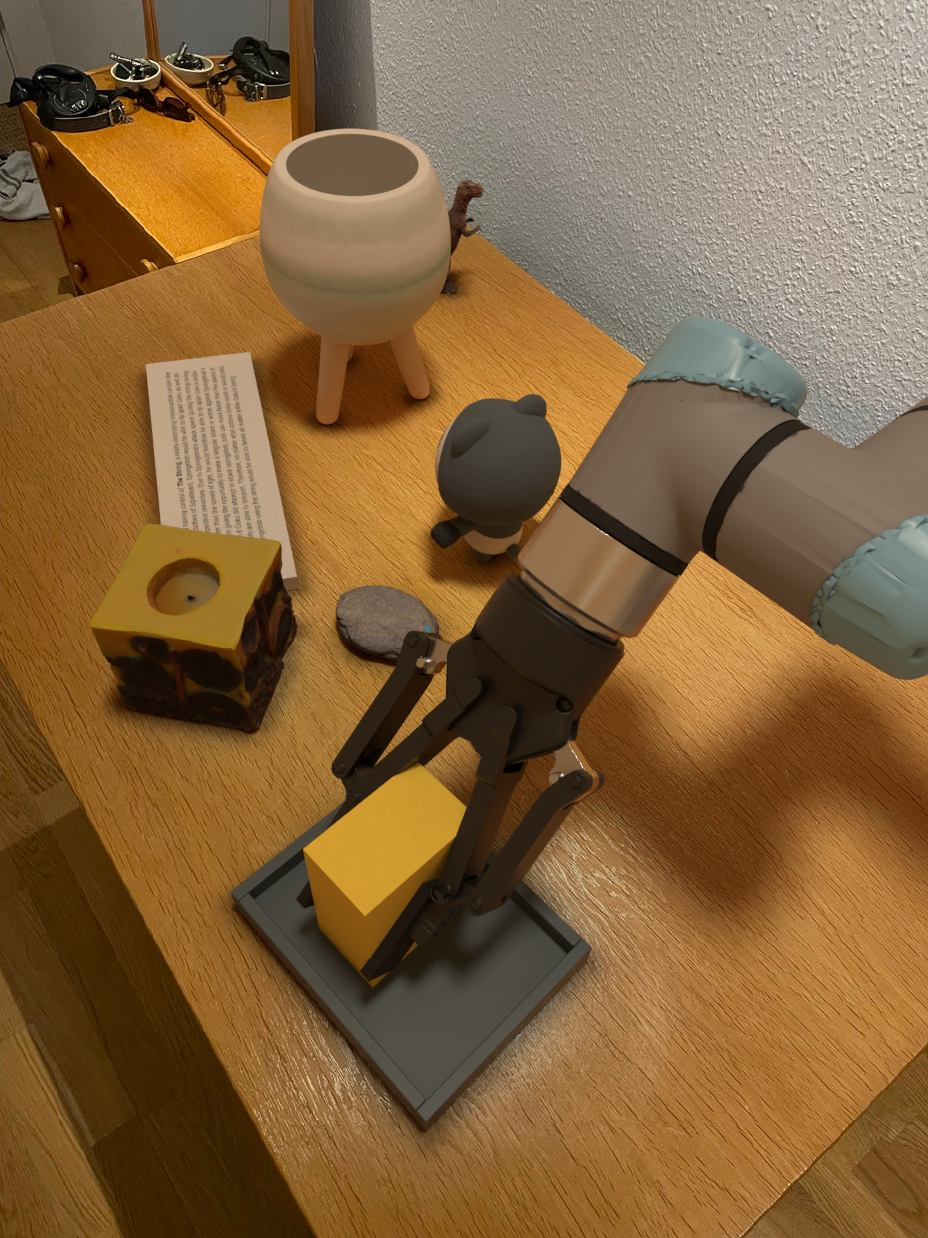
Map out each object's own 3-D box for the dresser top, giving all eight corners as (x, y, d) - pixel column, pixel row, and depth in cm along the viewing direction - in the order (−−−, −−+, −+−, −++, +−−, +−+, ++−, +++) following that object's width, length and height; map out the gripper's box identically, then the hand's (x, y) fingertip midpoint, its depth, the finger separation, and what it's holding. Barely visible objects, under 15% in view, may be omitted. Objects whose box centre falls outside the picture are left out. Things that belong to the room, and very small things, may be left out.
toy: (503, 487, 85) (518, 344, 73) (578, 558, 80) (606, 416, 68) (395, 538, 80) (393, 394, 68) (467, 617, 75) (477, 476, 63)
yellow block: (468, 898, 59) (477, 817, 51) (372, 988, 56) (364, 916, 47) (414, 845, 62) (415, 758, 53) (318, 928, 58) (302, 849, 49)
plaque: (296, 576, 75) (167, 597, 73) (298, 588, 76) (171, 610, 74) (249, 351, 93) (145, 363, 91) (251, 364, 94) (149, 376, 92)
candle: (299, 627, 74) (286, 538, 66) (259, 736, 67) (239, 651, 60) (174, 606, 74) (146, 516, 67) (123, 711, 68) (85, 625, 60)
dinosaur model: (487, 182, 96) (343, 206, 93) (488, 289, 104) (356, 313, 102) (475, 166, 98) (334, 189, 96) (477, 271, 107) (348, 295, 104)
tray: (587, 961, 58) (592, 947, 56) (425, 1132, 52) (425, 1123, 50) (396, 776, 66) (396, 759, 64) (235, 906, 59) (229, 891, 58)
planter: (291, 455, 86) (261, 221, 69) (271, 351, 96) (240, 123, 79) (462, 434, 89) (475, 204, 72) (426, 335, 99) (430, 112, 81)
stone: (380, 579, 77) (379, 560, 76) (454, 634, 74) (455, 615, 72) (317, 625, 74) (315, 606, 72) (392, 685, 70) (392, 667, 69)
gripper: (728, 710, 49) (485, 1033, 54) (482, 524, 56) (290, 822, 62) (690, 711, 42) (417, 1079, 47) (417, 501, 50) (208, 837, 55)
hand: (345, 933), depth 54 cm, fingers closed on yellow block, 5 cm apart
